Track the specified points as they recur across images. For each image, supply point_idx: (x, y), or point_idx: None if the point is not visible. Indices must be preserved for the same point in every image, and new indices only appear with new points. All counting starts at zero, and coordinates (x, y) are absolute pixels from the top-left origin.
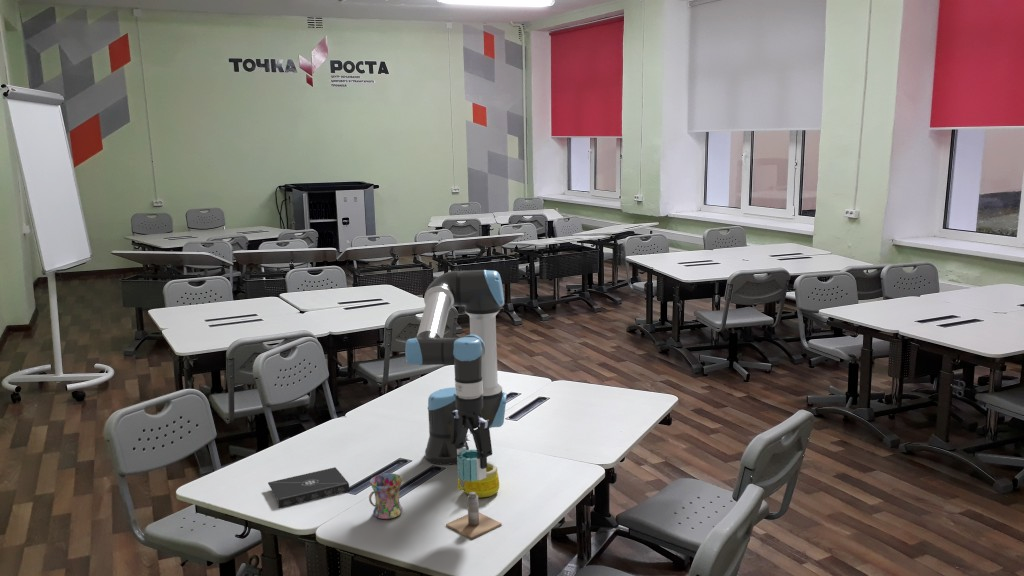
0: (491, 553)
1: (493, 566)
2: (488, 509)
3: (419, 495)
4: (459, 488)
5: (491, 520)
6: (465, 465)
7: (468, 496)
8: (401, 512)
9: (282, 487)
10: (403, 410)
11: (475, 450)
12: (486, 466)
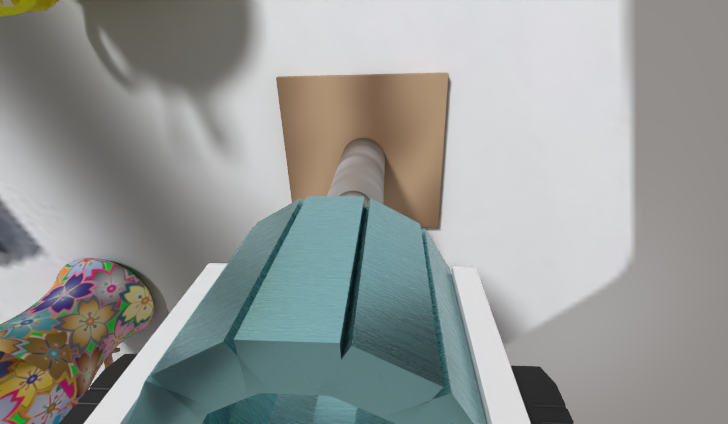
0: (555, 235)
1: (610, 277)
2: (288, 8)
3: (13, 146)
4: (49, 6)
5: (395, 88)
6: None
7: None
8: (136, 278)
9: None
10: None
11: (209, 374)
12: (550, 385)
